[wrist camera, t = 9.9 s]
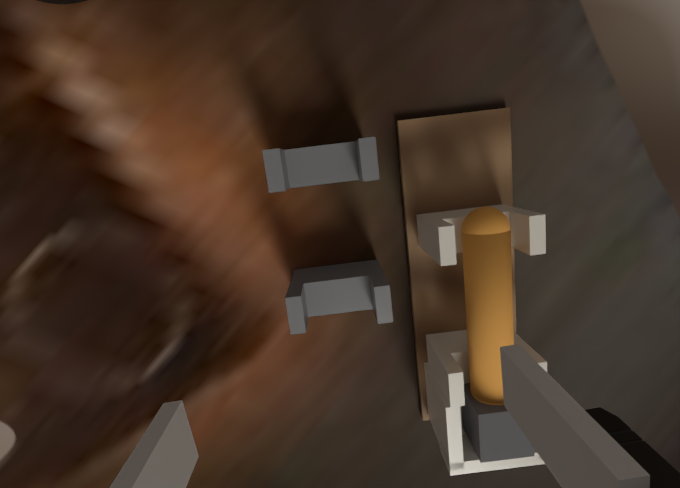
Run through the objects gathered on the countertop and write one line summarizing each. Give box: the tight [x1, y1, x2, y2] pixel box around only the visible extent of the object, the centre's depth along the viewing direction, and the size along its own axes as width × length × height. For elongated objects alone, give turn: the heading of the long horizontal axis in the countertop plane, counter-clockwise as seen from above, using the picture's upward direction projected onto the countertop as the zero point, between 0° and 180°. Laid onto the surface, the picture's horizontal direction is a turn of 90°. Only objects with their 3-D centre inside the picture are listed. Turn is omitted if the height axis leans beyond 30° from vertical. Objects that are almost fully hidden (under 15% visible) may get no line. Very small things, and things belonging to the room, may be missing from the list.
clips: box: [416, 204, 547, 476], centre depth 35 cm, size 22×9×7 cm, turn 7°
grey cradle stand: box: [262, 137, 393, 334], centre depth 33 cm, size 14×8×8 cm, turn 7°
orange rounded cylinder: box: [461, 207, 534, 463], centre depth 32 cm, size 20×4×4 cm, turn 7°
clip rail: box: [396, 107, 516, 421], centre depth 38 cm, size 30×10×1 cm, turn 7°
